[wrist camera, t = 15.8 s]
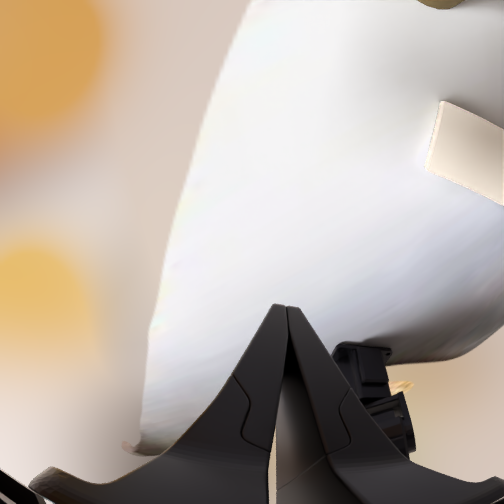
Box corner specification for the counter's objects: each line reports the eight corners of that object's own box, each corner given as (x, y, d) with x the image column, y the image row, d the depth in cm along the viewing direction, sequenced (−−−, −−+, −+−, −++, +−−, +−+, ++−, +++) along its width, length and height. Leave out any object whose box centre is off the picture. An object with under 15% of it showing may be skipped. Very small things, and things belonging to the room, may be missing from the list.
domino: (440, 101, 15) (528, 146, 12) (424, 166, 17) (509, 206, 15) (444, 100, 13) (537, 150, 11) (427, 171, 16) (517, 213, 14)
